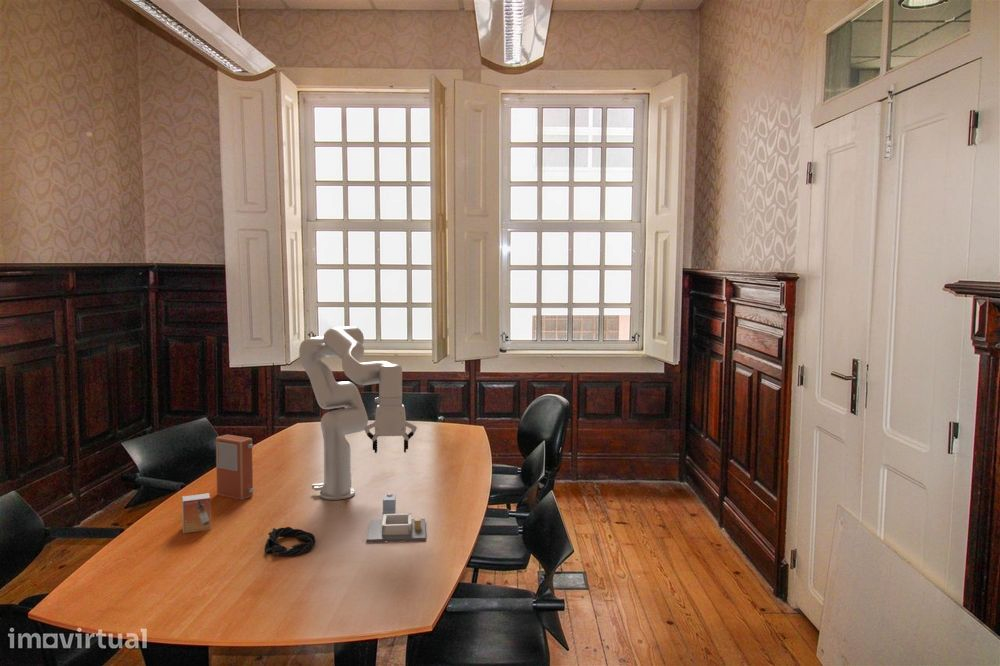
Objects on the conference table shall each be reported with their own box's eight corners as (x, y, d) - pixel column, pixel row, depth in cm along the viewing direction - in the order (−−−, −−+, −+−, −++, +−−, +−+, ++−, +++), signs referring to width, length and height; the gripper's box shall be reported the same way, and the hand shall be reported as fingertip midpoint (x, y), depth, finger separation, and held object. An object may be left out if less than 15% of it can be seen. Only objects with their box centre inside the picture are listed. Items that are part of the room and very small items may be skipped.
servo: (382, 522, 217) (382, 501, 216) (384, 512, 226) (384, 491, 226) (394, 522, 217) (394, 500, 216) (395, 511, 227) (395, 490, 226)
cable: (273, 536, 205) (272, 522, 205) (319, 534, 207) (319, 520, 207) (261, 559, 188) (261, 544, 188) (311, 557, 190) (311, 542, 190)
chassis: (366, 542, 200) (366, 529, 200) (370, 523, 216) (370, 511, 216) (425, 540, 202) (425, 528, 202) (425, 521, 218) (425, 509, 218)
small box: (183, 534, 204) (182, 501, 203) (182, 528, 209) (181, 495, 208) (211, 530, 208) (210, 497, 207) (209, 524, 213) (209, 492, 212)
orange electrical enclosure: (227, 489, 247) (257, 495, 240) (212, 494, 240) (242, 501, 234) (226, 433, 245) (256, 438, 239) (210, 437, 239) (241, 442, 232)
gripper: (363, 403, 214) (363, 455, 215) (416, 403, 216) (416, 454, 217) (364, 399, 221) (365, 449, 223) (416, 398, 223) (416, 448, 225)
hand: (390, 451), depth 220 cm, fingers open, 9 cm apart
